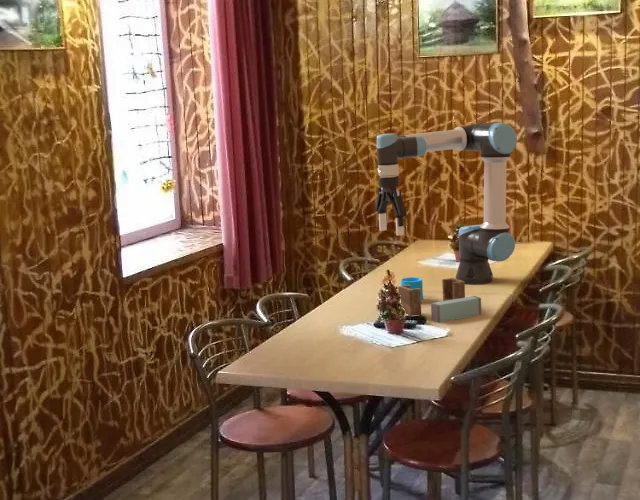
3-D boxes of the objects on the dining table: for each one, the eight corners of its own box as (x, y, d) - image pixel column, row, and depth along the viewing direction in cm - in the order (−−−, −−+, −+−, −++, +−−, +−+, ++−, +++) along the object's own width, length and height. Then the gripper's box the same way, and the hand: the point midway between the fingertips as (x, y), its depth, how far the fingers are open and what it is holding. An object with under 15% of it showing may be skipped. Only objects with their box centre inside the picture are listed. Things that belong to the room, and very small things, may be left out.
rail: (474, 312, 335) (474, 295, 334) (481, 314, 331) (480, 297, 330) (431, 319, 328) (430, 303, 327) (437, 322, 324) (436, 305, 323)
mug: (417, 303, 353) (417, 282, 352) (398, 302, 357) (397, 281, 356) (430, 296, 363) (429, 275, 362) (411, 295, 367) (410, 274, 366)
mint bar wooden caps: (453, 304, 349) (452, 277, 347) (465, 308, 342) (464, 281, 340) (399, 313, 340) (398, 286, 338) (410, 317, 332) (409, 290, 331)
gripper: (364, 174, 355) (367, 229, 359) (395, 179, 332) (398, 238, 336) (382, 172, 358) (385, 227, 362) (413, 177, 335) (416, 235, 339)
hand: (391, 232), depth 349 cm, fingers open, 13 cm apart
